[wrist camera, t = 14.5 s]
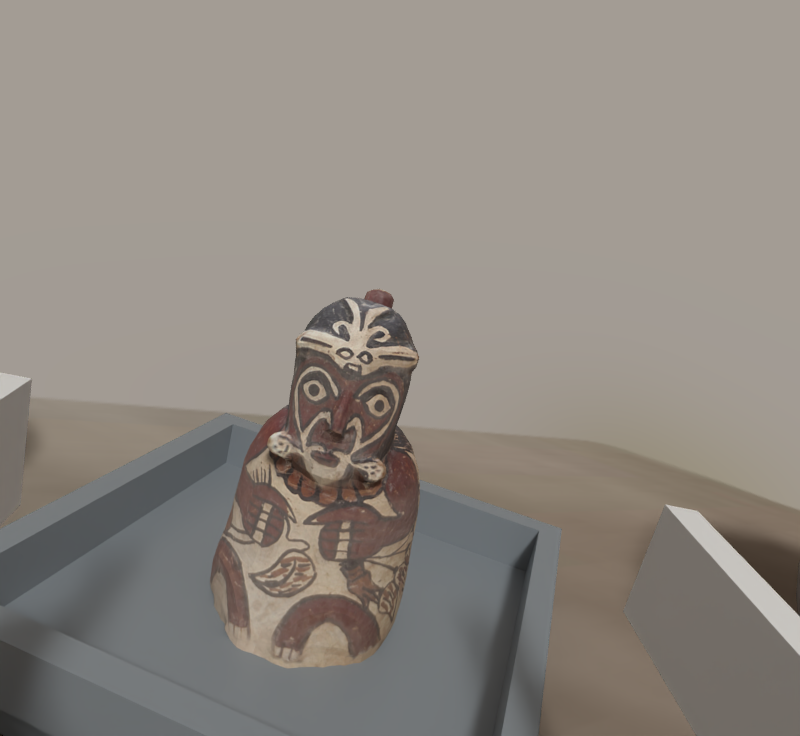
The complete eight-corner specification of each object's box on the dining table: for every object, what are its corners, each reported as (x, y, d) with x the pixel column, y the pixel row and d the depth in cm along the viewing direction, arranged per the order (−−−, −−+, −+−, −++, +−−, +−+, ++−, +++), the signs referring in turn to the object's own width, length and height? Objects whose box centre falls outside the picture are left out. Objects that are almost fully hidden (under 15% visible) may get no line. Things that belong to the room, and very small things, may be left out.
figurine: (167, 621, 23) (223, 279, 20) (260, 529, 30) (312, 263, 26) (363, 699, 22) (456, 347, 18) (413, 584, 28) (488, 312, 25)
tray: (-116, 675, 19) (-114, 587, 18) (217, 463, 36) (225, 412, 35) (485, 976, 15) (521, 882, 15) (543, 582, 32) (561, 528, 32)
